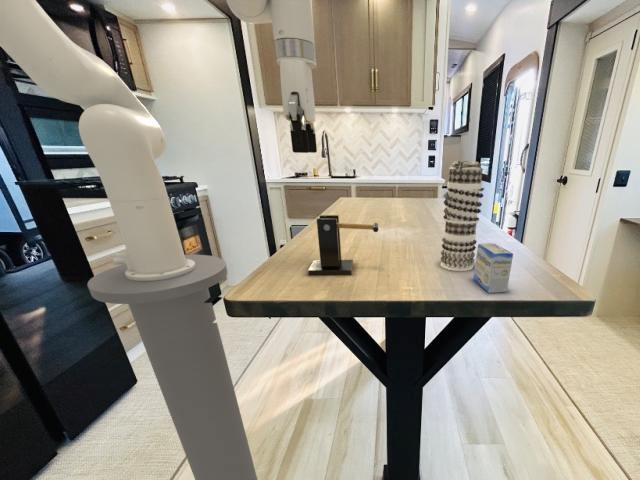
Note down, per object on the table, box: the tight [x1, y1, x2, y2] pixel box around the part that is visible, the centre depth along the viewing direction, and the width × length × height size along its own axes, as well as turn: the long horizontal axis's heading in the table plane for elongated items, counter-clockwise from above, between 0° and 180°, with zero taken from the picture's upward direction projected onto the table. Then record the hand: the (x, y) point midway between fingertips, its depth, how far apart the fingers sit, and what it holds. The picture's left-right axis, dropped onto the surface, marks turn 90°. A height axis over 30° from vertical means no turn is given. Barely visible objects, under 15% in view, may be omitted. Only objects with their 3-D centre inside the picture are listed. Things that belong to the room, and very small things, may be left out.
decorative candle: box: [440, 160, 485, 272], centre depth 78 cm, size 9×9×25 cm
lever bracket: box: [307, 214, 354, 276], centre depth 77 cm, size 10×8×13 cm
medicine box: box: [472, 242, 514, 294], centre depth 69 cm, size 8×4×9 cm, turn 12°
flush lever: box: [337, 222, 379, 233], centre depth 75 cm, size 13×5×2 cm, turn 94°
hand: (305, 152), depth 70 cm, fingers open, 9 cm apart
